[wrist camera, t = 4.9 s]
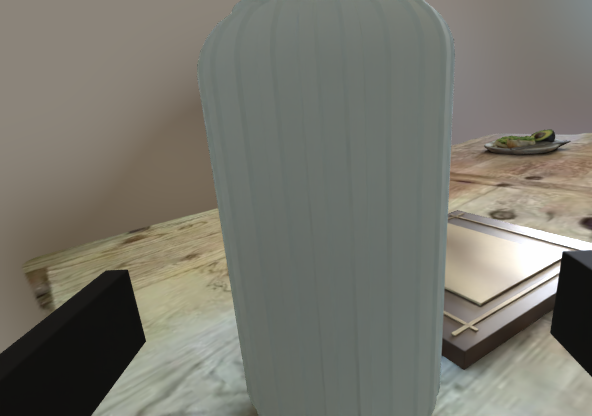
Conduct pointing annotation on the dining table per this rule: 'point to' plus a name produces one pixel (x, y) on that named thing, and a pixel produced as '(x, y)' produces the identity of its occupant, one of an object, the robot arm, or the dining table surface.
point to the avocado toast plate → (526, 144)
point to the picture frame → (496, 282)
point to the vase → (333, 198)
